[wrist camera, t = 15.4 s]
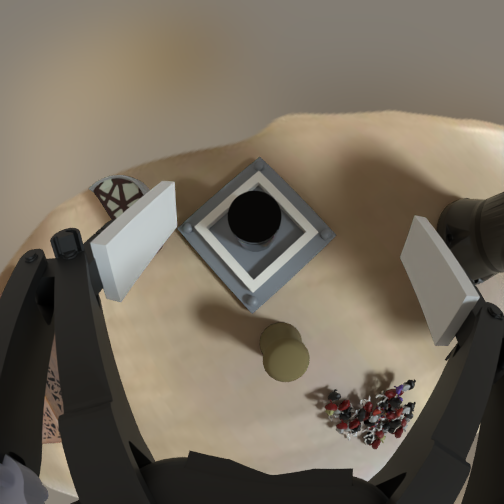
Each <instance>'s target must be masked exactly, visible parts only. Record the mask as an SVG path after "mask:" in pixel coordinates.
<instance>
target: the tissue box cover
mask: <svg viewBox="0 0 504 504" xmlns="http://www.w3.org/2000/svg"><path fill="white" fill-rule="evenodd" d="M1 295H2V294H1ZM1 295H0V297H1ZM62 414H64V406H63V401H62V395H61V388H60V381H59V374H58V365H57V355H56V342H55V335H54V340H53V345H52V350H51V356H50V362H49V368H48V375H47V382H46V390H45V400H44V412H43V429H42V444H46V443H60V442H62V441H61V436H60V432H59V426H58V418H59V416H60V415H62Z"/></svg>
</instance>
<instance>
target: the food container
mask: <svg viewBox="0 0 504 504" xmlns="http://www.w3.org/2000/svg"><path fill="white" fill-rule="evenodd" d="M89 190H91V191H92V192H94V193H95V195H96V196H97V197H98V199H99V200H100V202H101V203H102V205H103V207H104V208H105V210H106V211H107V213H108V215H109V216H110V218H111V219H112V220H113V219H115V218H118V217H119V216H120V215H121V214H123V213H124V212H125V211H126V210H127V209H128V208H129V207H131V206H132V205H133V204H134V203H135V202H137V201H138V200H139V199H140V198H141V197H143V196H144V195H145V194H146V193H148V192H149V191H150V190H149V188H148V187H147V186H146V185H145V184H144V183H142V182H141V181H139V180H137V179H135V178H132V177H129V176H124V175H114V176H108V177H105V178H103V179H101V180H99V181H97V182H96V183H94V184H93V185H92V186H91V187H90V188H89ZM162 246H163V245H162ZM161 248H162V247H161ZM161 248H160V249H161ZM160 249H159V250H160ZM158 252H159V251H158ZM158 252H157V253H158ZM157 253H156V254H157Z"/></svg>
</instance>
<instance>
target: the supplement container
mask: <svg viewBox="0 0 504 504" xmlns="http://www.w3.org/2000/svg"><path fill="white" fill-rule="evenodd" d="M281 218H282V215H281V209H280V207H279V204H278V203H277V201H276V200H275V199H274V198H273V197H272V196H270V195H269V194H267V193H265V192H262V191H248V192H244V193H242V194H240V195H239V196H238V197H236V198H235V199H234V200H233V202H232V203H231V205H230V207H229V210H228V224H229V227H230V229H231V231H232V233H233V234H234V236H235V237H236V239H237V241H238V243H239V244H240V245H241V246H242V247H243V248H245V249H246V250H249V251H253V252H259V251H263V250H266V249H267V248H269V247H270V246H271V245H272V244H273V243H274V241H275V239H276V236H277V233H278V230H279V228H280V224H281Z"/></svg>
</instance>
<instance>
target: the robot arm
mask: <svg viewBox="0 0 504 504" xmlns="http://www.w3.org/2000/svg"><path fill="white" fill-rule="evenodd" d="M176 227H177V215H176V199H175V182H171V181H161V182H160V183H159V184H158V185H156V186H155V187H154V188H152V189H151V190H150V191H149V192H148V193H146V194H145V195H144V196H143V197H141V198H140V199H139V200H138V201H137V202H135V203H134V204H133V205H132V206H131V207H129V208H128V209H127V210H126V211H125V212H124V213H123V214H121V215H120V216H119V217H118V218H115V219H113V220H111V221H109V222H107V223H106V224H105V225H104V226H103V227H101V229H99V230H98V231H97V232H96V234H94V235H93V236H91V237H90V238H89V239H88V240H87V241H86V242H85V243H84V244H83V242H82V238H81V234H80V231H79V230H78V229H76V228H68V229H64V230H61V231H59V232H57V233H56V234H55V235H54V236H53V237H52V238H51V240H50V242H51V245H52V248H53V251H54V254H55V257H56V258H52V259H46V257H45V254H44V252H43V250H41V249H34V250H29V251H27V252H26V253H25V254H24V255H23V256H22V257H21V258H20V260H19V261H18V263H17V265H16V267H15V269H14V271H13V273H12V275H11V277H10V279H9V281H8V283H7V285H6V287H5V289H4V291H3V293H2V295H1V297H0V504H45V503H44V501H46V500H47V499H48V491H47V489H46V488H45V487H44V486H43V485H42V482H41V480H40V479H39V474H40V467H41V460H42V429H43V412H44V400H45V390H46V382H47V375H48V368H49V362H50V356H51V350H52V345H53V340H54V335H55V342H56V355H57V365H58V374H59V381H60V388H61V395H62V401H63V406H64V414H62V415H60V416H59V418H58V426H59V432H60V436H61V441H62V445H63V449H64V453H65V457H66V460H67V464H68V467H69V470H70V474H71V477H72V480H73V483H74V486H75V489H76V492H77V494H78V497H79V500H78V501H76V502H73V503H71V504H454V502H455V500H456V498H457V496H458V494H459V493H460V491H461V489H462V487H463V485H464V483H465V481H466V479H467V477H468V475H469V472H470V469H471V466H470V464H469V463H467V462H466V457H467V454H468V452H469V450H470V447H471V445H472V443H473V441H474V438H475V436H476V433H477V430H478V428H479V425H480V430H479V437H478V442H477V447H476V452H475V457H474V461H473V466H472V469H471V473H470V477H469V481H468V485H467V487H466V491H465V494H464V497H463V500H462V503H461V504H504V315H503V312H502V311H501V310H500V309H499V308H498V307H497V306H496V305H494V304H492V303H489V302H485V300H484V298H483V297H482V295H481V293H480V292H479V290H478V288H477V287H476V286H475V285H477V284H480V283H483V282H484V281H486V280H488V279H489V278H491V277H493V276H494V275H496V274H497V273H500V272H504V192H502V193H500V194H497V195H495V196H493V197H490V198H488V199H486V200H481V199H469V198H464V199H460V200H457V201H455V202H453V203H451V204H449V205H448V206H447V207H446V208H445V209H444V211H443V212H442V214H441V216H440V219H439V222H438V227H437V231H436V230H435V229H434V228H433V226H432V225H431V224H430V222H429V221H428V220H427V218H425V217H421V216H416V215H414V218H413V221H412V224H411V227H410V230H409V233H408V236H407V239H406V242H405V245H404V247H403V250H402V253H401V255H400V259H401V261H402V263H403V265H404V267H405V270H406V272H407V274H408V276H409V279H410V281H411V283H412V286H413V288H414V291H415V293H416V295H417V298H418V300H419V303H420V305H421V308H422V311H423V313H424V316H425V319H426V321H427V324H428V327H429V330H430V332H431V335H432V338H433V341H434V344H435V346H448V345H449V344H450V342H451V341H452V340H453V338H454V337H455V336H456V339H457V341H458V343H457V344H456V346H455V347H454V348H453V350H452V351H451V352H450V353H449V355H448V356H447V357H446V359H445V360H446V361H447V360H448V359H449V360H448V362H447V364H446V366H445V368H444V370H443V372H442V375H441V377H440V379H439V381H438V383H437V385H436V386H435V388H434V390H433V392H432V394H431V396H430V398H429V399H428V401H427V403H426V405H425V407H424V408H423V410H422V412H421V413H420V415H419V417H418V418H417V420H416V422H415V423H414V425H413V426H412V428H411V430H410V431H409V433H408V434H407V436H406V437H405V439H404V440H403V442H402V443H401V445H400V446H399V447H398V449H397V450H396V452H395V453H394V454H393V456H392V457H391V458H390V460H389V461H388V462H387V464H386V465H385V466H384V467H383V468H382V469H381V470H380V471H379V472H378V473H377V474H376V475H375V476H373V477H372V478H371V479H370V480H369V481H368V482H367V481H365V480H363V479H360V478H357V477H354V476H353V469H311V470H305V471H300V472H294V473H287V474H280V475H269V474H265V473H263V472H260V471H257V470H255V469H252V468H249V467H247V466H244V465H242V464H239V463H237V462H235V461H232V460H230V459H224V458H219V457H215V456H210V455H206V454H201V453H197V452H193V451H190V452H189V455H188V457H178V458H169V459H163V460H160V461H156V462H155V460H154V458H153V456H152V454H151V452H150V450H149V449H148V447H147V445H146V444H145V442H144V440H143V438H142V436H141V434H140V431H139V429H138V426H137V424H136V421H135V419H134V416H133V414H132V411H131V408H130V405H129V403H128V400H127V397H126V394H125V391H124V388H123V385H122V382H121V379H120V376H119V372H118V369H117V366H116V362H115V359H114V355H113V352H112V348H111V344H110V340H109V336H108V332H107V328H106V324H105V319H104V314H103V310H102V305H101V300H100V297H99V292H100V291H101V290H102V289H104V292H105V295H106V298H107V299H110V300H114V301H118V302H122V300H123V299H124V297H125V296H126V295H127V293H128V292H129V290H130V289H131V287H132V286H133V285H134V283H135V282H136V280H137V279H138V278H139V276H140V275H141V273H142V272H143V271H144V269H145V268H146V267H147V265H148V264H149V263H150V261H151V260H152V259H153V257H154V256H155V255H156V253H157V252H158V251H159V249H160V248H161V247H162V245H163V244H164V243H165V241H166V240H167V239H168V238H169V236H170V235H171V234H172V232H173V231H174V230H175V229H176ZM480 422H481V423H480Z"/></svg>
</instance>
